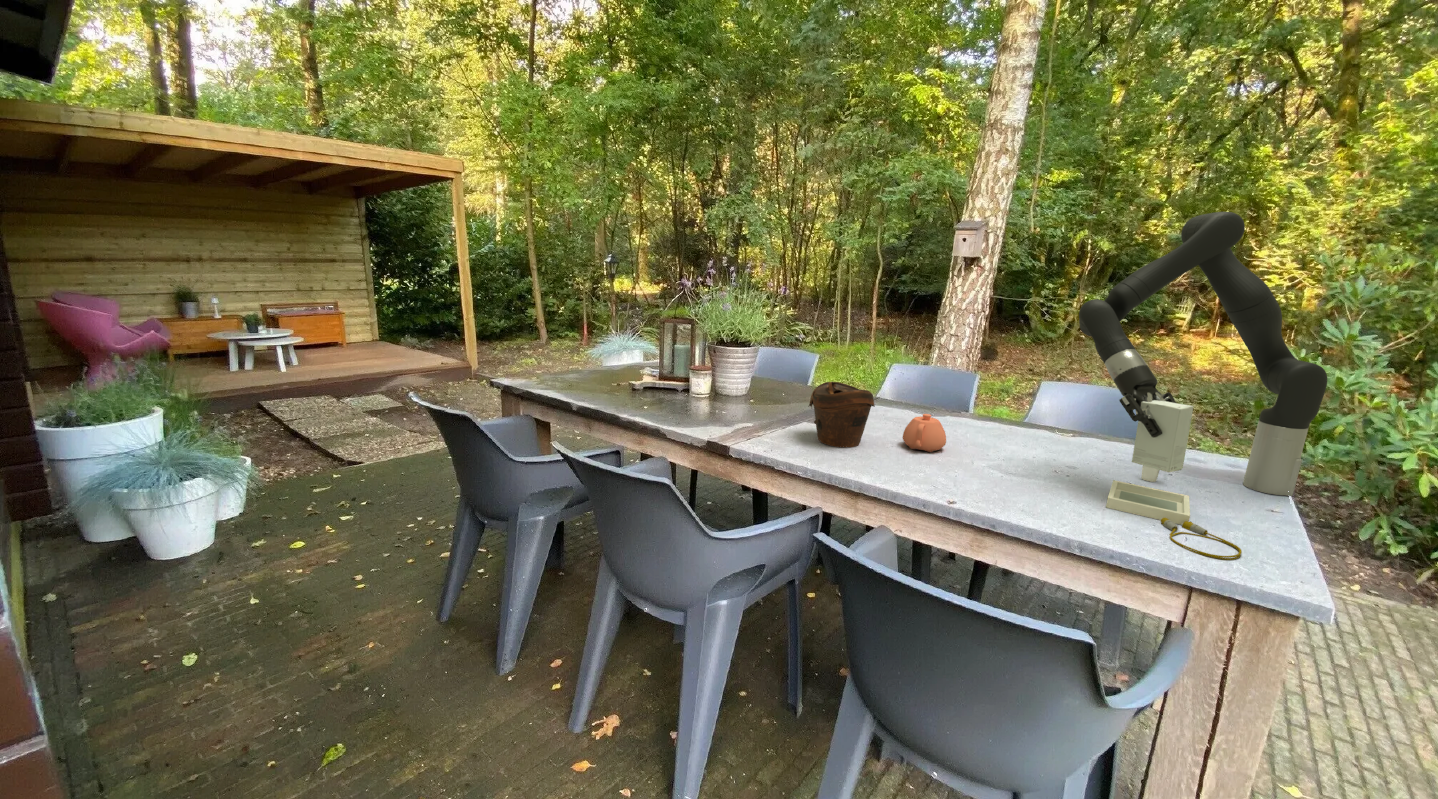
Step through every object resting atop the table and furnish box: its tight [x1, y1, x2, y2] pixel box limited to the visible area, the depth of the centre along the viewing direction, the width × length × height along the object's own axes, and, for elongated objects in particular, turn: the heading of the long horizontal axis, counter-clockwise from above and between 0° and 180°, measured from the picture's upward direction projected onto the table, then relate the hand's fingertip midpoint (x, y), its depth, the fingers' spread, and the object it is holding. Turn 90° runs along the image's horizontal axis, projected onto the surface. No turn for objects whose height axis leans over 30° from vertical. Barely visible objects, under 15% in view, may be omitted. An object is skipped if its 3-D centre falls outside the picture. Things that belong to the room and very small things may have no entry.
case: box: [808, 381, 875, 448], centre depth 179 cm, size 18×20×18 cm
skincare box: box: [1131, 400, 1195, 473], centre depth 135 cm, size 8×6×15 cm
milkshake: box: [1140, 465, 1161, 483], centre depth 156 cm, size 5×5×10 cm
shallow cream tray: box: [1105, 479, 1191, 526], centre depth 139 cm, size 15×15×2 cm
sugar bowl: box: [902, 413, 947, 453], centre depth 176 cm, size 12×14×10 cm
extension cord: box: [1160, 518, 1243, 561], centre depth 121 cm, size 12×16×2 cm
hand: (1169, 434), depth 133 cm, fingers closed on skincare box, 6 cm apart
